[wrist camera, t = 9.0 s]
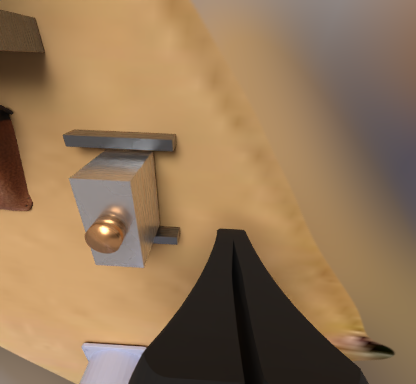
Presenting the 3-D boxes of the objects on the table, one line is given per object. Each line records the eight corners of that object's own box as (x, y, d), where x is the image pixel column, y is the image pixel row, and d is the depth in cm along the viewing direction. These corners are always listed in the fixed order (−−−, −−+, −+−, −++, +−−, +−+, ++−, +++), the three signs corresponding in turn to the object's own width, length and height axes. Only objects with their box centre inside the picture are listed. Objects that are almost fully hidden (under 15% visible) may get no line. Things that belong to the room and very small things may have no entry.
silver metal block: (160, 224, 18) (138, 281, 13) (122, 222, 18) (87, 278, 13) (152, 150, 15) (122, 191, 10) (107, 148, 15) (55, 188, 10)
